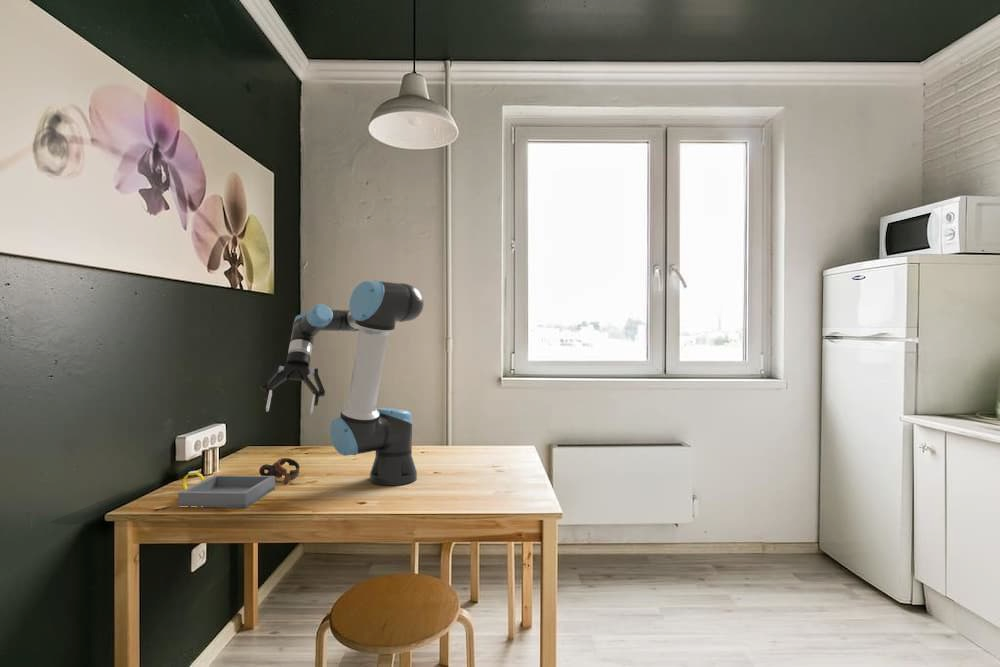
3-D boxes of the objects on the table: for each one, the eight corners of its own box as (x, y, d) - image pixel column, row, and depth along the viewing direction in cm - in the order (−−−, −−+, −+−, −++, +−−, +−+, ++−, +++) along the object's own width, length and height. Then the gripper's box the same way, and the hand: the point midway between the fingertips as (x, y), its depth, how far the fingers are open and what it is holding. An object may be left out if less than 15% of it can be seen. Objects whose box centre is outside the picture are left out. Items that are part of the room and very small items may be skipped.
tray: (274, 489, 165) (274, 475, 165) (245, 508, 146) (245, 493, 146) (215, 488, 165) (215, 475, 165) (178, 507, 146) (178, 492, 146)
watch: (181, 493, 160) (180, 473, 160) (186, 491, 163) (185, 471, 163) (202, 492, 161) (200, 472, 161) (206, 489, 163) (205, 469, 163)
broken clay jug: (289, 476, 181) (299, 456, 179) (294, 495, 174) (305, 475, 172) (252, 473, 173) (262, 452, 172) (257, 492, 166) (267, 471, 165)
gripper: (335, 364, 194) (328, 419, 183) (261, 356, 186) (248, 412, 175) (337, 354, 188) (330, 411, 177) (260, 345, 181) (247, 403, 169)
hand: (289, 412), depth 176 cm, fingers open, 13 cm apart
